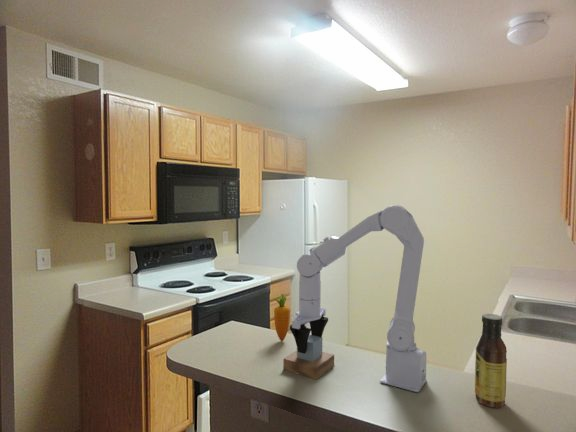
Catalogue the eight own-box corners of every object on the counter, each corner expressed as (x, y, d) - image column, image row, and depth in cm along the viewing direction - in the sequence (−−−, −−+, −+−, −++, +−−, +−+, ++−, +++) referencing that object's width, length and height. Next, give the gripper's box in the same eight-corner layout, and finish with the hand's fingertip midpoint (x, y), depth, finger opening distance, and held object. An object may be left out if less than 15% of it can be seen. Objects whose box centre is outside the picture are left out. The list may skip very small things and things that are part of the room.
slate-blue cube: (322, 355, 109) (322, 337, 109) (313, 362, 105) (313, 343, 104) (306, 351, 111) (306, 334, 111) (296, 357, 107) (297, 339, 107)
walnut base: (334, 365, 110) (334, 354, 110) (316, 379, 101) (316, 367, 101) (302, 357, 115) (302, 346, 115) (283, 369, 107) (283, 358, 107)
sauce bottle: (478, 392, 95) (481, 309, 94) (508, 401, 91) (511, 314, 90) (470, 403, 90) (473, 316, 89) (501, 413, 86) (504, 321, 85)
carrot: (283, 345, 124) (283, 297, 123) (270, 341, 127) (271, 295, 126) (292, 340, 128) (293, 294, 127) (280, 337, 131) (280, 292, 130)
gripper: (310, 290, 116) (309, 337, 116) (282, 301, 103) (281, 353, 104) (332, 294, 112) (331, 342, 112) (305, 305, 100) (305, 359, 100)
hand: (309, 347), depth 108 cm, fingers open, 7 cm apart
